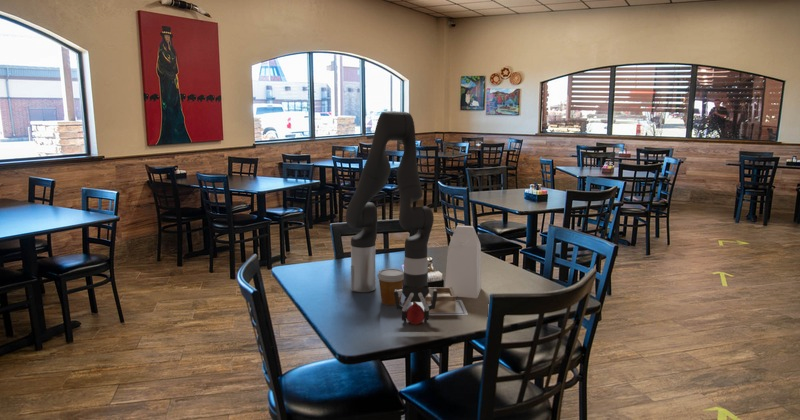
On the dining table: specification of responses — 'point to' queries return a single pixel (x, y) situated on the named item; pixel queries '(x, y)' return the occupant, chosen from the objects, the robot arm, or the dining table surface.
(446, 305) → the square wooden tray
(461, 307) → the board
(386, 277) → the disposable coffee cup
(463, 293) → the milk
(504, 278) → the dining table surface
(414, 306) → the red round fruit
